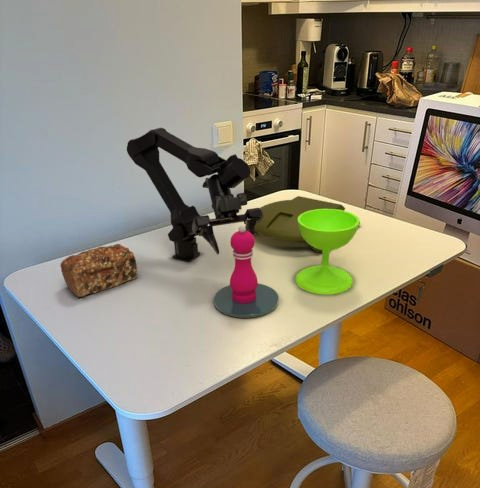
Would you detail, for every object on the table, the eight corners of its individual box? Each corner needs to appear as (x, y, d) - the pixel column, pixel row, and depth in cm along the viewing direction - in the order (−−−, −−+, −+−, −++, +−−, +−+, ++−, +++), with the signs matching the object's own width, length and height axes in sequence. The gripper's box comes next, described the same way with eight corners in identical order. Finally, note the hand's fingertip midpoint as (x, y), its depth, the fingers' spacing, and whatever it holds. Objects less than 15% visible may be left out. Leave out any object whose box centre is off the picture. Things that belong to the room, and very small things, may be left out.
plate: (201, 309, 128) (201, 305, 127) (234, 281, 140) (234, 277, 139) (260, 325, 120) (260, 321, 120) (289, 294, 133) (289, 290, 132)
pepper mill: (261, 292, 132) (260, 221, 121) (253, 306, 126) (251, 233, 115) (235, 289, 134) (233, 219, 123) (226, 302, 128) (222, 230, 117)
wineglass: (293, 267, 146) (295, 209, 136) (348, 267, 145) (354, 208, 135) (297, 294, 132) (299, 232, 123) (357, 294, 132) (364, 231, 122)
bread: (78, 300, 133) (70, 267, 128) (64, 285, 140) (56, 253, 135) (140, 279, 142) (135, 247, 137) (123, 266, 150) (118, 235, 144)
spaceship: (286, 208, 187) (286, 182, 182) (362, 225, 172) (365, 197, 166) (231, 240, 164) (230, 212, 158) (313, 263, 148) (315, 232, 143)
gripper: (191, 187, 123) (206, 246, 120) (261, 178, 127) (276, 234, 125) (186, 205, 133) (199, 260, 131) (250, 196, 138) (264, 249, 136)
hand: (235, 250), depth 130 cm, fingers open, 9 cm apart
